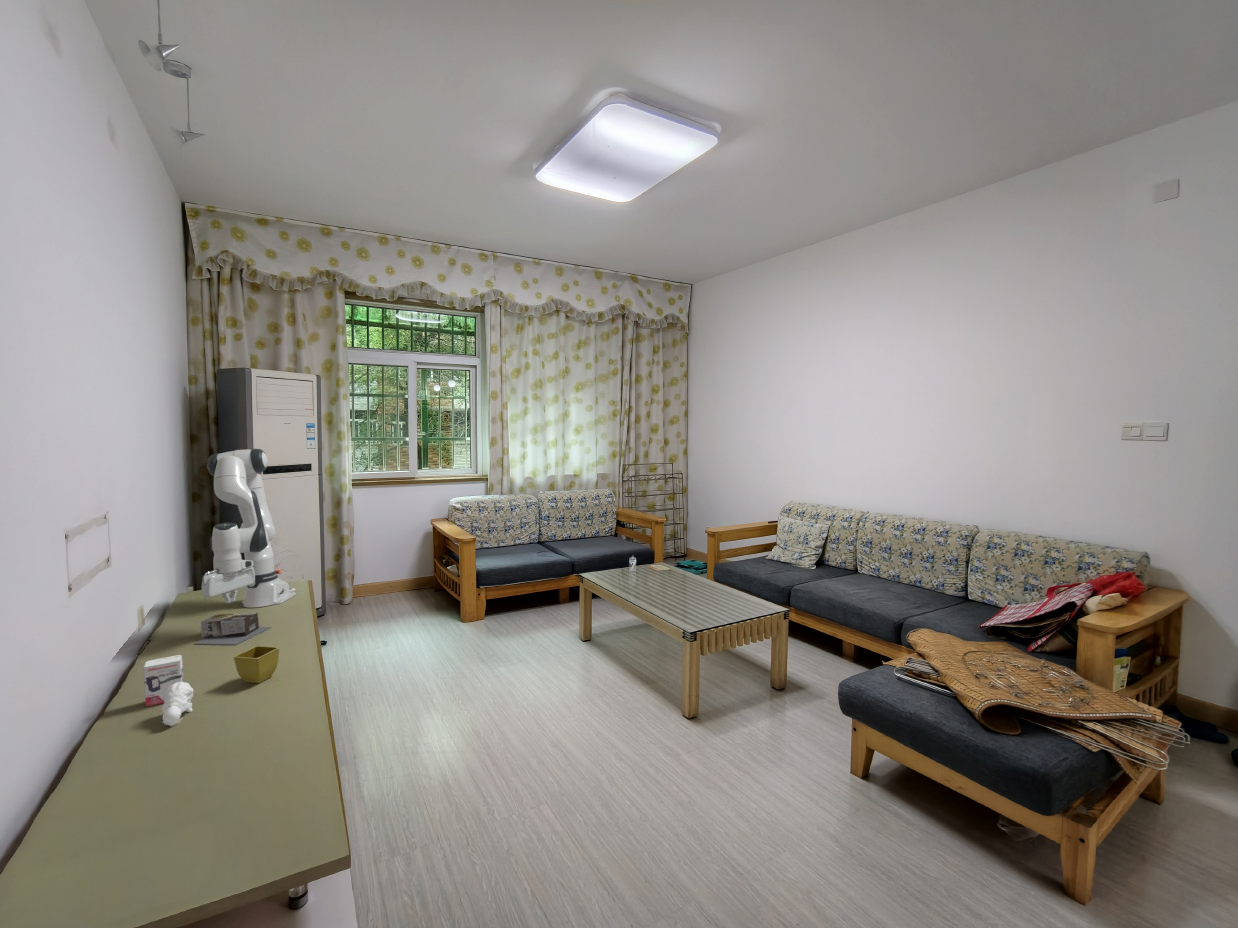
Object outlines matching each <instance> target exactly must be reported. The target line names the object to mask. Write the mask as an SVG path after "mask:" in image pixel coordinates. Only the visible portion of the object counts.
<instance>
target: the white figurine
mask: <svg viewBox="0 0 1238 928" xmlns="http://www.w3.org/2000/svg"><path fill="white" fill-rule="evenodd" d="M164 697H165V698H166V700H165V703H163V705H162V707H161V710H162V711H161V713H162V714H163V715H162V720H163V721H161V720H160V722H161V723H163V724H164V726H169V727H174V725H176V724H179V723H180V722H181V721H182V719H184V716H183V717H181V716H182V713H184V712H186V713H191V712H193V708H192V707H193V703H192V702H191V701H192V699H193V697H194V688H193V687H191V685H190V683H188V682H186V681H185V682H177V683H174V684H173V685H171V686H170V687H169V688H168V689H167V691H166V692H165V694H164Z"/></svg>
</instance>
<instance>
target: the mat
mask: <svg viewBox="0 0 1238 928" xmlns="http://www.w3.org/2000/svg"><path fill="white" fill-rule="evenodd" d="M271 628H272V626H259V628H258V629H256V630H254V631H253V632H251V633H249V634H248V635H246V636H223V637H204V638H202V639H201V640H198V641H196V642H194V643H193V645H198V646H201V645H202V646H237V645H239V644H241V643H244V642H246V641H247V640H250V639H251V638H254V637H255V636H258V635H260V634H262V633H264V632H266V631H267V630H270V629H271Z"/></svg>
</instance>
